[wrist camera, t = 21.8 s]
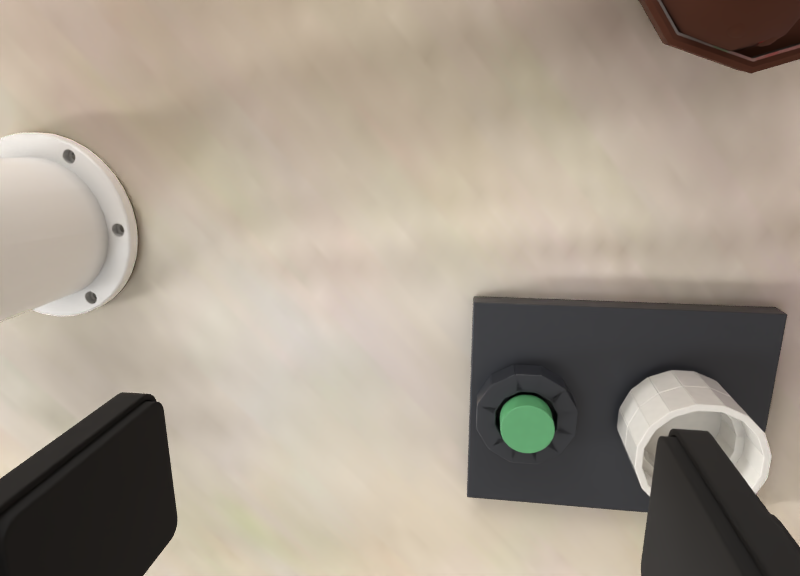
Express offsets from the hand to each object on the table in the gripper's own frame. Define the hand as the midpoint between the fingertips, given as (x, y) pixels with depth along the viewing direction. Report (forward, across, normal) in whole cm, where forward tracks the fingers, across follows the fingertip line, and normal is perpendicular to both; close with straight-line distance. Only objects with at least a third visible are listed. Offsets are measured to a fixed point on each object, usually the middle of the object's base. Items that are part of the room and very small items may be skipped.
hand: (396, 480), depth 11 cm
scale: (+26, -10, +11) cm, 30 cm away
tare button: (+24, -5, +11) cm, 27 cm away
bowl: (+25, -14, +11) cm, 30 cm away
